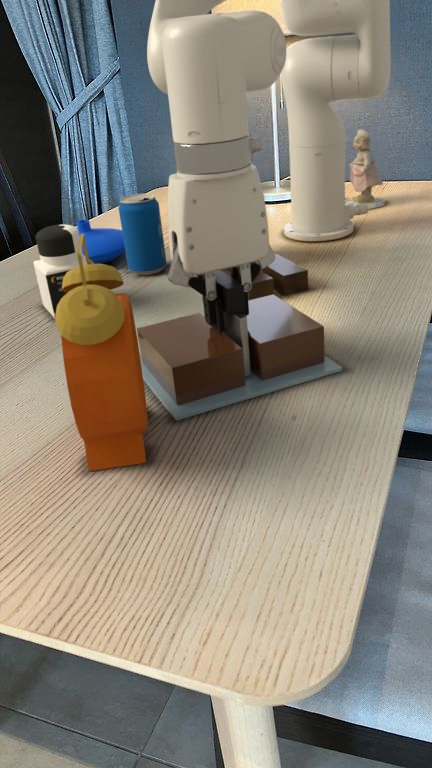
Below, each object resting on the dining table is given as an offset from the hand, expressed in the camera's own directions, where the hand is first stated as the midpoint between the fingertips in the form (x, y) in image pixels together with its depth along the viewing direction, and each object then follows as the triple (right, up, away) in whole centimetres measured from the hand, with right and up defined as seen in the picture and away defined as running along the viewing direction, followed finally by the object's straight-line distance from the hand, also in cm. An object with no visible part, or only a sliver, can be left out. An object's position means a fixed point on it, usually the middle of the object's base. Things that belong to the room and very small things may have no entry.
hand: (227, 324), depth 76 cm
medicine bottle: (-23, +5, +24) cm, 34 cm away
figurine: (+28, +30, +62) cm, 74 cm away
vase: (-24, +15, +44) cm, 52 cm away
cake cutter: (0, -4, +2) cm, 5 cm away
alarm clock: (-11, -12, -9) cm, 19 cm away
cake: (0, -5, +3) cm, 5 cm away
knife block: (+6, +8, +24) cm, 26 cm away
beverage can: (-13, +12, +36) cm, 40 cm away
